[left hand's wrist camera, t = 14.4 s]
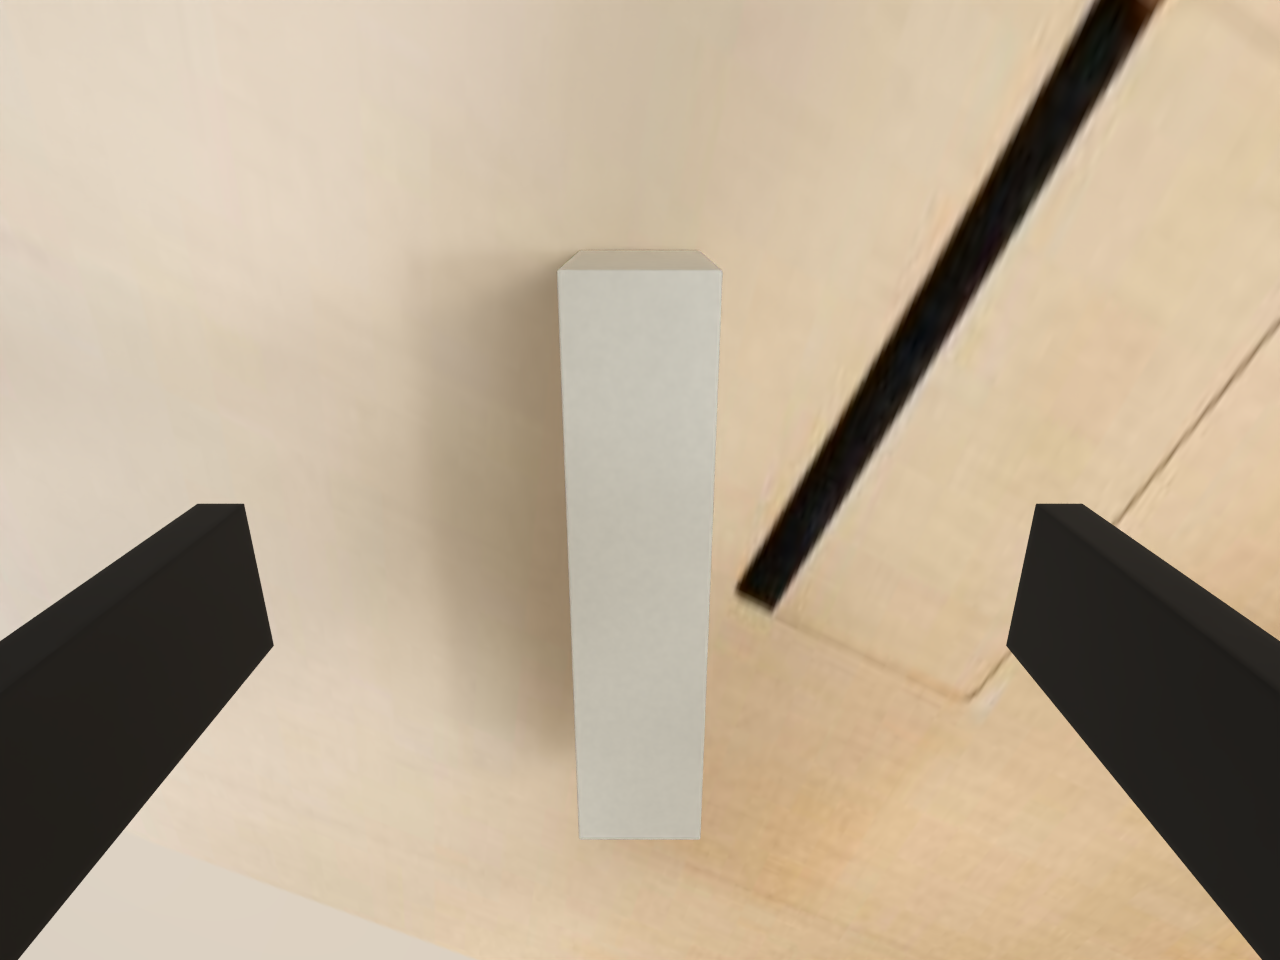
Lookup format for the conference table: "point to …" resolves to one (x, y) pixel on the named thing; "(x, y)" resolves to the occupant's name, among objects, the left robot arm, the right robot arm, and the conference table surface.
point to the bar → (639, 530)
